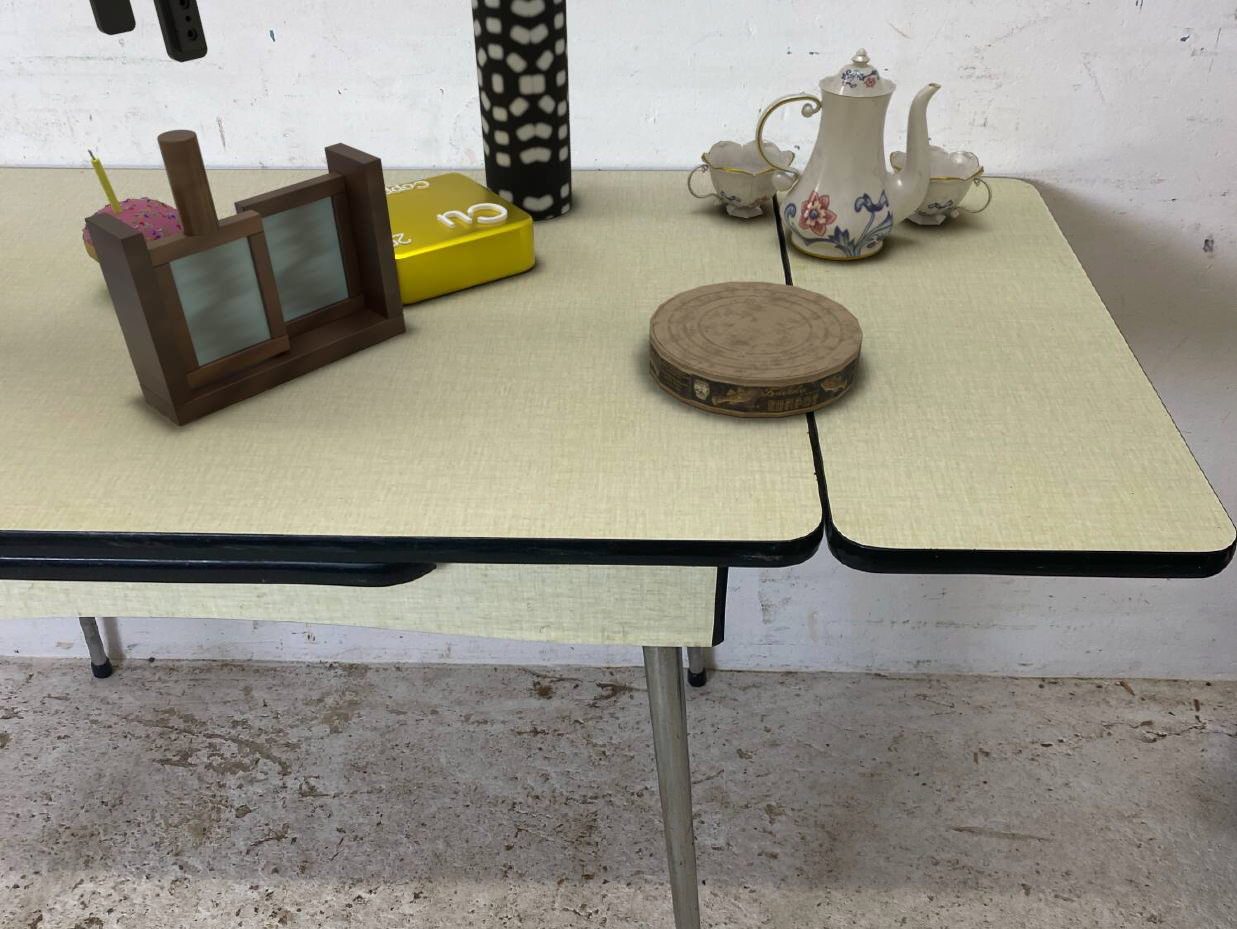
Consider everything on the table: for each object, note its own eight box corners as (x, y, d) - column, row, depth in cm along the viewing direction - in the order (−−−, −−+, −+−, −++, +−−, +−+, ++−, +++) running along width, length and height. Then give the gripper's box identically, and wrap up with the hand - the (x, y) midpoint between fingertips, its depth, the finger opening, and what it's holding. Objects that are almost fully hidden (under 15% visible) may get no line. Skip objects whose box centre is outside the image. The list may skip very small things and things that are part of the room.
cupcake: (155, 315, 89) (109, 166, 81) (78, 297, 92) (26, 151, 84) (224, 275, 95) (188, 132, 87) (150, 258, 98) (107, 118, 90)
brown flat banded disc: (700, 301, 91) (701, 266, 89) (883, 341, 85) (890, 306, 83) (611, 386, 80) (611, 349, 78) (815, 439, 75) (820, 400, 73)
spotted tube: (543, 227, 103) (532, -12, 89) (471, 210, 106) (449, -23, 92) (587, 198, 108) (583, -31, 95) (517, 183, 111) (503, -41, 98)
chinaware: (963, 213, 109) (996, 26, 99) (1008, 267, 95) (1052, 56, 86) (684, 212, 109) (690, 26, 100) (690, 265, 96) (697, 56, 86)
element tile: (463, 214, 105) (458, 163, 102) (544, 267, 96) (541, 214, 93) (318, 250, 99) (308, 197, 96) (389, 311, 90) (381, 255, 86)
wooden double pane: (179, 426, 76) (120, 239, 67) (145, 401, 79) (83, 217, 70) (406, 330, 87) (381, 158, 78) (369, 311, 90) (340, 142, 81)
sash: (194, 393, 76) (123, 156, 66) (176, 381, 78) (104, 147, 67) (295, 351, 81) (245, 123, 70) (277, 341, 82) (225, 115, 71)
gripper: (-74, -310, 56) (39, 36, 67) (49, -306, 49) (154, 82, 59) (66, -313, 60) (152, 14, 71) (200, -310, 53) (272, 55, 63)
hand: (153, 45), depth 65 cm, fingers open, 8 cm apart
